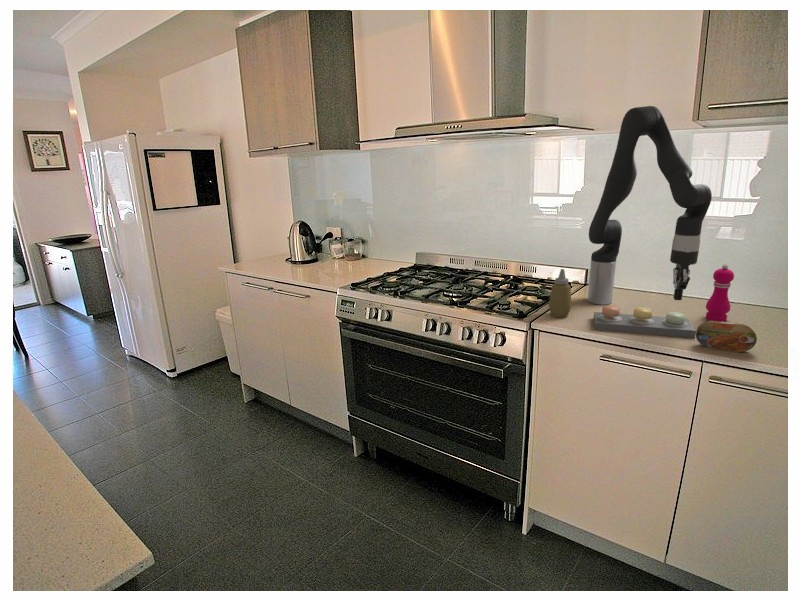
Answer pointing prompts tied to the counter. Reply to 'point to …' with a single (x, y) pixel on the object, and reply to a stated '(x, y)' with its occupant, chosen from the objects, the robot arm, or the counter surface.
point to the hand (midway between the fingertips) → (677, 299)
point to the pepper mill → (720, 295)
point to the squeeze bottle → (560, 297)
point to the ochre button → (642, 313)
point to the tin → (726, 336)
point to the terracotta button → (610, 311)
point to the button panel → (643, 325)
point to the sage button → (675, 318)
